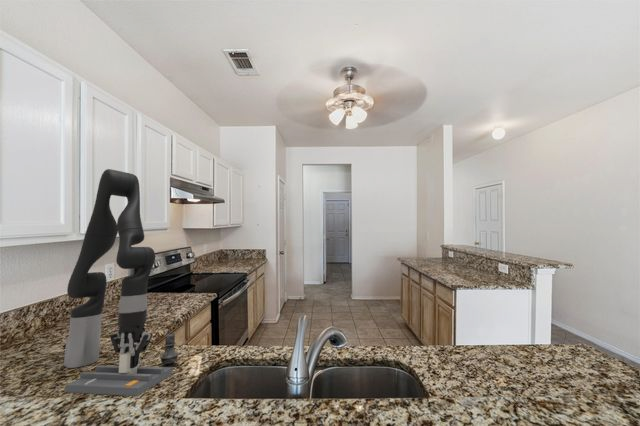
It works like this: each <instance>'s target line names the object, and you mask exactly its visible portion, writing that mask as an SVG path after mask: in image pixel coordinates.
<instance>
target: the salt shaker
mask: <svg viewBox="0 0 640 426" xmlns="http://www.w3.org/2000/svg"><path fill="white" fill-rule="evenodd" d="M175 337H176V335H175V333H173V332H172V329H171V330H169V332H168V333H167V334H166V335H165V343H164V345H163V346H164V352H163V354H161V355H160V357H159V359H160V361H161V366H160V367H173V368H175V367H177V365H178V363H177V359H178V356H179V352H177V351H176V350H175V346H176V342H175ZM176 363H177V364H176Z"/></svg>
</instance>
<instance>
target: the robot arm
mask: <svg viewBox="0 0 640 426" xmlns="http://www.w3.org/2000/svg"><path fill="white" fill-rule="evenodd" d="M97 187H98V188H97V192H96V196H95V197H96V198H95V202H94V205H93V210H92V213H91V217H90V219H89V222H88V224H87V228H86V231H85V234H84V238H83V242H82V245H81V249H80V252H79V255H78V258H77V261H76V263H75V266H74V268H73V270H72V273H71V275H70V278H69V281H68V284H67V290H66V291H67V295H68V297H69V298H71V299H82V298H89V300H88V301H86V302H85V303H82V304H81V305H79V306H77V307H74V308H73V309H72V310H71V311H70V318H69V321H70V322H69V331H68V337H67V338H66V339H65V350H64V359H63V366H64V367H65V368H67V369H73V368H81V367H85V366H88V365H89V366H90V365H92V364H94V363H96V362H98V361H99V357H100V347H101V346H100V345H101V344H100V343H101V335H102V334H101V332H102V331H101V330H102V318H103V317H102V316H103V308H104V304H105V295H106V290H107V282H108V281H107V276H106V274H105V272H102V271H97V272H89V271H90V270H91V268H92V267H93V266H94V264H95V263H97V261H98V260H99V259H101V258H102V257H103V256H105V254H106V253H108V252H109V251H110V250H111V249H112V248H113V246H114V245H115V242H116V239H117V235H118V238H119V241H118V249H117V250H118V251H117V253H116V254H117V255H116V260H115V261H116V264H117V267H119V268H121V269H123V270H129V269H138V270H137V272H136V273H135V274H133V275H129V276H126V277H123V279H122V280H121V285H120V286H121V287H120V290H121V291H120V297H119V303H118V316H117V326H118V328H119V329H118V331H117V332H115V333H113V334H110V336H109V337H110V340H111V344H112V347H113V350H114V353H115V354H119V356H120V355H121V354H124V353H126V352H128V351H131V355H132V356H131V359H130V368H135V367H136V366H137V365H138V363H139V354H140V355H141V353H143V352H145V351H146V350H147V349H148V346H149V344H150V342H151V340H152V338H153V333H152V332H150V333H149V332H148V331H146V328H145V324H146V323H147V314H148V313H147V312H148V283H149V282H148V281H149V277H150V275H151V272H152V268H153V267H154V264H155V260H156V253H155V250H154V249H153V248H152V247H150V246H135V245H138V244H141V243H143V242H144V240H145V231H144V227H143V223H142V218H141V193H140V182H139V178H138V176H136V175H135V174H133V173H129V172H125V171H122V170H121V171H120V170H117V169H116V170H115V169H112V168H110V169H109V168H108V169H105V170H104V171H103V172H102V174H101V176H100V179H99V183H98V186H97ZM112 196H116V197H123V198H126V199H127V205H125V207H124V209H123V210H122V211H121V212H120V214H119V216H118V218H117V221H116V219H115V217H114V215H113V213H112V210H111V206H110V202H111V201H110V200H111V198H112ZM139 364H140V363H139Z"/></svg>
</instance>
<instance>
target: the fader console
mask: <svg viewBox="0 0 640 426" xmlns="http://www.w3.org/2000/svg"><path fill="white" fill-rule="evenodd" d="M173 370H174V367H161V366H144V365H143V366H140V365H139V367H137V374H131V373H119V365H111V364H110V365H97V366H95V370H94V371H83V372H81V373H80V374H79V378H78V379H76V380H74V381H71V382H69V383H67V384H66V385H65V389H64V392H65V393H67V394H70V393H71V394H88V395H89V394H91V395H105V396H106V395H108V396H109V395H110V396H128V397H129V396H132V397H138V396H140V395H142V394H143V393H145V392H146V391H148V390H149V389H151V388H153V387H155V385H158V384H160V383H161V382H162V381H163V380H166V379H167V378H168V377H170V376H171V375H173Z"/></svg>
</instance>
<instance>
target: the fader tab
mask: <svg viewBox="0 0 640 426" xmlns="http://www.w3.org/2000/svg"><path fill="white" fill-rule="evenodd" d="M131 356H132V355H131V350H130V351H128V352H126V353H124V354H121V355H120V354H119V363H118V366H119V373H131V374H137V367H139V366H140V358H141V353H140V354H139V363H138V365H137V366H136V367H135V368H130V359H131Z"/></svg>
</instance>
